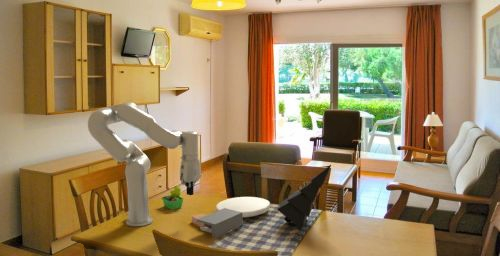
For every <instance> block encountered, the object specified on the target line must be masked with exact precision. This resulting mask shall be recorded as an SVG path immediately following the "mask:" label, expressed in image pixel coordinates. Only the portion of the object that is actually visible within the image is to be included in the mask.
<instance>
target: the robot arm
mask: <svg viewBox="0 0 500 256" xmlns="http://www.w3.org/2000/svg"><path fill="white" fill-rule="evenodd" d="M119 122H124V123H125V124H127V125H129V126H131V127H133V128H135V129H137V130H139V131H140V132H142V133H143V134H144V135H146V136H147V137H148V138H150V139H151V140H152V141H154V142H155V143H157V144H159V145H161V146H162V147H164V148H166V149H168V150H169V149H170V150H175V149H176V148H177V147H179V146H181V156H180V159H181V161H180V167H179V181H180V185H182V186H185V187H186V195H188V196H193V195H194V187H195V185H196V183H197V182H198V181H199V180H200V179H201V178H202V173H201V172H202V171H201V163H200V159H199V135H198V133H197V131H192V130H191V131H190V130H189V131H181V130H175V129H174V130H171V131H170V130H168V129H166V128H164V127H162V126H161V125H160V124H158V122H157V121H156V119H155V118H154V117H153V116H152V115H151V114H148V113H147V112H144V111H143V110H141V109H140V108H139V107H138V105H137V104H136V103H134V102H131V101H126V102H122V103H119V104H115V105H111V106H110V105H109V106H106V107H102V108H97V109H95V110H94V111H92V112H91V113H90V115H89V117H88V120H87V129H88V131H89V133H90V136H91V137H92V138H93V139H94V140H95V141H96V143H98V144H99V145H100V146H101V147H102V148H103V149H104V150H105V151H106V153H108V155H110V156H111V157H112V158H113V160H115V161H116V162H119V163H123V162H126V165H125V169H124V172H125V178H126V180H125V181H126V188H127V190H126V191H127V206H128V211H127V212H126V213H125V215H126V216H127V217H128V218H127V220H125V224H126V226H128V227H134V228H135V227H137V228H138V227H144V226H148V225H150V224H152V222H153V217H152V216H150V206H149V189H148V186H149V185H148V180H147V179H148V178H147V172H149V170H150V169H151V165H152V163H151V160H150V159H149V157H148V156H147V155H146V154H145V152H143V151H142V149H140V147H139V146H137V144H136V143H134V142H133V141H131V140H129V139H121V138H120V137H119V136H118V135H117V134H116V132H114V131H113V130H112V129H110V128H109V127H108V126H109V125H112V124H115V123H119Z"/></svg>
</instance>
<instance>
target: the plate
mask: <svg viewBox="0 0 500 256" xmlns="http://www.w3.org/2000/svg"><path fill="white" fill-rule="evenodd" d="M224 208H226V209H230V210H234V211H239V212H242V218H250V217H256V216H259V215H263V214H264V213H266V212H267V211H269V209H270V208H271V202H270V201H269V200H267V199H266V198H262V197H256V196H240V197H239V196H237V197H231V198H227V199H224V200H222V201H220V202H218V203H217V204H216V205H215V212H216V211H219V210H221V209H224Z"/></svg>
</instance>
